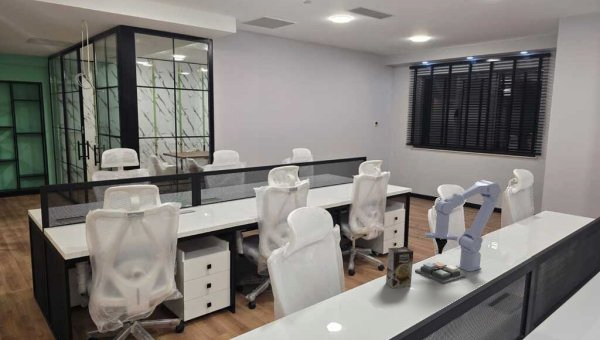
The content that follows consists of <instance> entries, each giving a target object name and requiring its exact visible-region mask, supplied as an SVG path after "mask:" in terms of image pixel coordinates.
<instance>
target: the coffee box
mask: <svg viewBox="0 0 600 340" xmlns="http://www.w3.org/2000/svg"><path fill="white" fill-rule="evenodd" d="M387 252H388V253H387V261H386V262H387V265H386V277H385V283H386V284H387V285H388V286H389V287H390V288H391V289H398V288H399V289H401V288H411V287H412V277H413V275H412V274H413V263H414V250H412V249H410V248H408V247H407V246H402V247H388V251H387Z"/></svg>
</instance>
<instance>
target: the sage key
mask: <svg viewBox="0 0 600 340" xmlns="http://www.w3.org/2000/svg"><path fill="white" fill-rule="evenodd" d="M435 273H438V274H440V275H446V274H448V273H447V272H445V271H443V270H438V271H435Z"/></svg>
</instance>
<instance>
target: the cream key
mask: <svg viewBox="0 0 600 340" xmlns="http://www.w3.org/2000/svg"><path fill="white" fill-rule="evenodd" d="M445 270H447V271H450V272H452V273H453V272H457V271H458V270H459V268H458V267H456V265H451V264H450V265H447V266H445Z"/></svg>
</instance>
